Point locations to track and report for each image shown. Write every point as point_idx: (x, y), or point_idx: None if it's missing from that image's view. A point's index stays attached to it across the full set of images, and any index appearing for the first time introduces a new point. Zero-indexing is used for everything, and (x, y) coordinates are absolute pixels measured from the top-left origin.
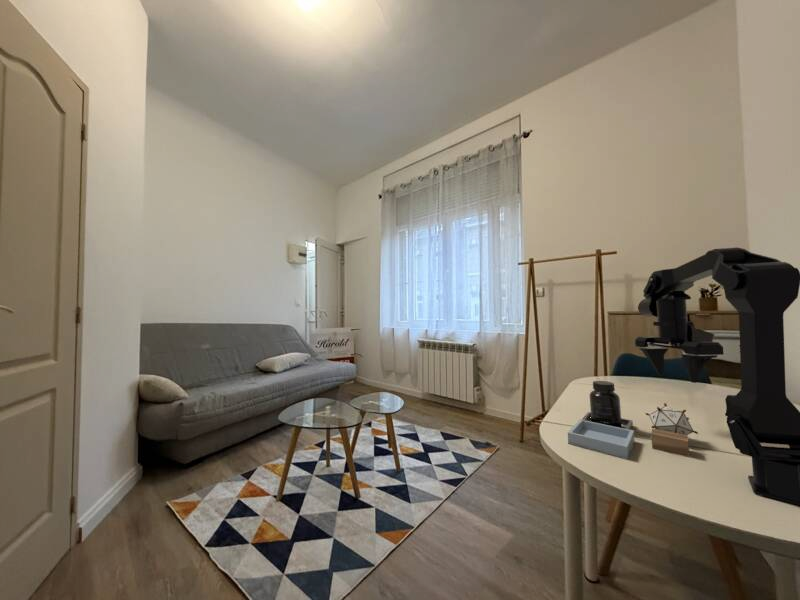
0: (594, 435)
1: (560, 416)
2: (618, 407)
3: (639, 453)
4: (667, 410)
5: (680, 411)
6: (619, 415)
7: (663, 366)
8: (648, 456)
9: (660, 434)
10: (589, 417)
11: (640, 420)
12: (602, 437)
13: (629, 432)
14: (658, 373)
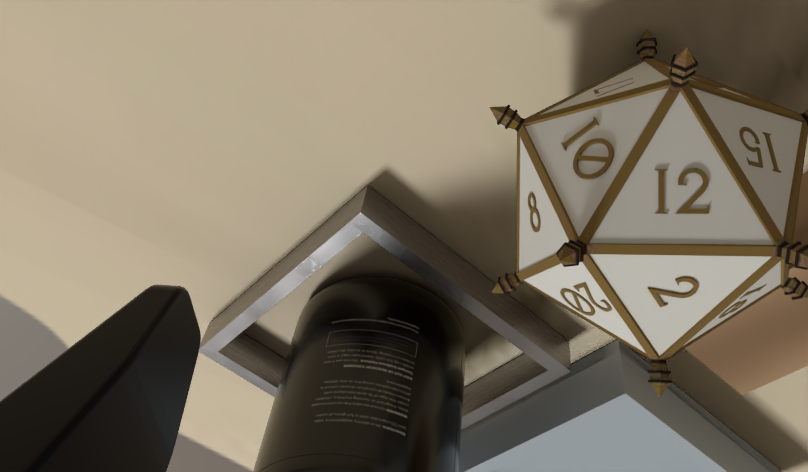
0: (538, 464)
1: (219, 430)
2: (448, 448)
3: (748, 403)
4: (698, 328)
5: (770, 267)
6: (450, 391)
7: (96, 417)
8: (790, 393)
9: (770, 363)
10: (245, 345)
11: (227, 39)
12: (567, 451)
13: (644, 425)
14: (187, 362)
